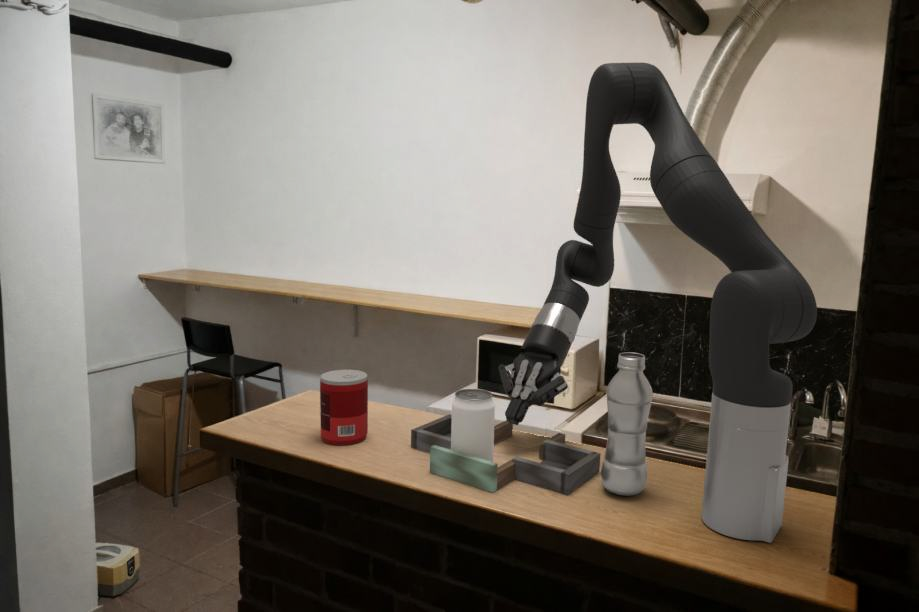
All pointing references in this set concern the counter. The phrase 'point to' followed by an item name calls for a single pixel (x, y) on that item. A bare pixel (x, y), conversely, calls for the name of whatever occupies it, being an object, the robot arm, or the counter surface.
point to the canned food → (344, 406)
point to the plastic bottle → (627, 427)
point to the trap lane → (556, 472)
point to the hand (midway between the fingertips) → (511, 421)
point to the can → (473, 423)
